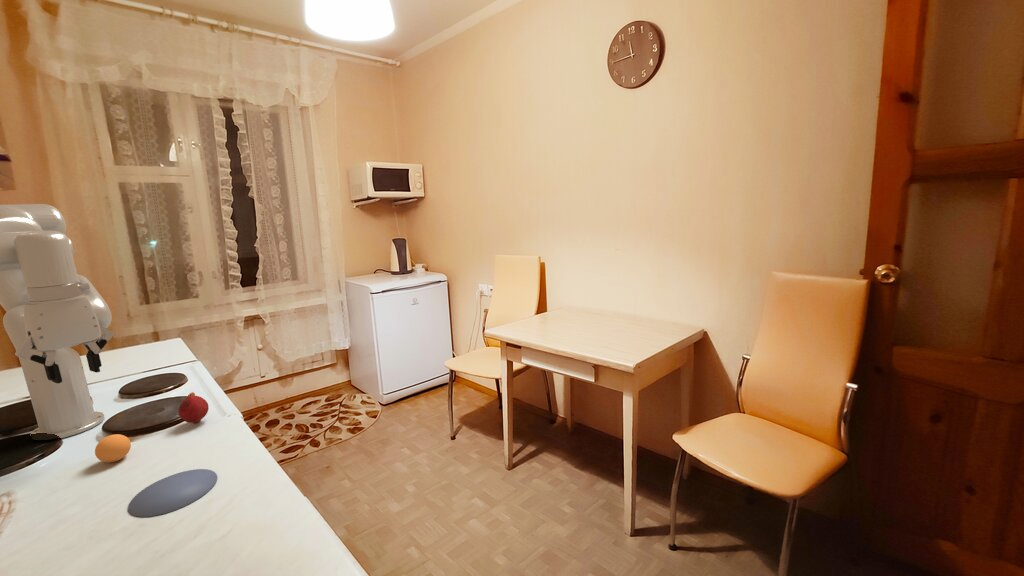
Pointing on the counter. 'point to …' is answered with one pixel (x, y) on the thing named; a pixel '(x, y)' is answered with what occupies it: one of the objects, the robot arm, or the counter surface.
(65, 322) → the robot arm
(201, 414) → the onion
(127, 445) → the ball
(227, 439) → the counter surface
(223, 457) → the counter surface
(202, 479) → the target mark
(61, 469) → the counter surface
